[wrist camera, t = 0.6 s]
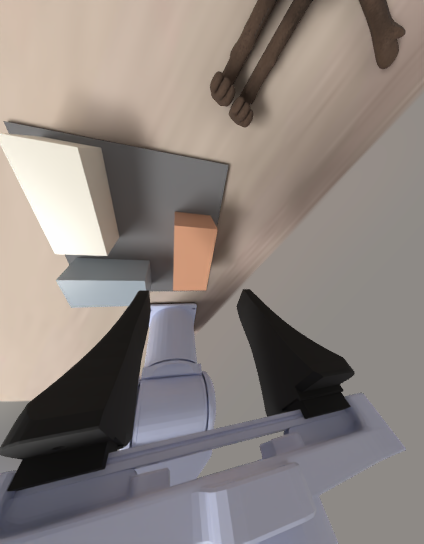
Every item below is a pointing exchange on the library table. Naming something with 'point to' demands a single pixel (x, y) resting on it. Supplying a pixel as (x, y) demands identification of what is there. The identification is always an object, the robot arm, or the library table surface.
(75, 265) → the slate brick
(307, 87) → the library table surface
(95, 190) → the cream brick
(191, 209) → the charcoal mat
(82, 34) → the library table surface
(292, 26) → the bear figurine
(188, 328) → the robot arm
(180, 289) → the terracotta brick
